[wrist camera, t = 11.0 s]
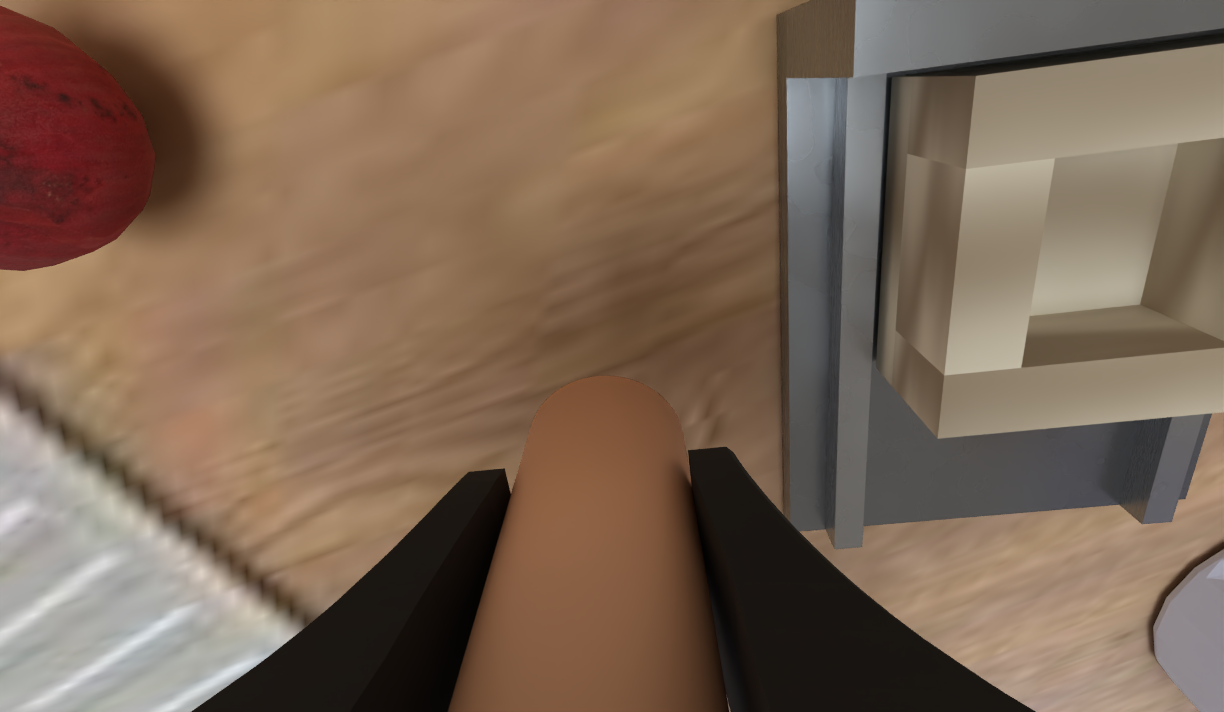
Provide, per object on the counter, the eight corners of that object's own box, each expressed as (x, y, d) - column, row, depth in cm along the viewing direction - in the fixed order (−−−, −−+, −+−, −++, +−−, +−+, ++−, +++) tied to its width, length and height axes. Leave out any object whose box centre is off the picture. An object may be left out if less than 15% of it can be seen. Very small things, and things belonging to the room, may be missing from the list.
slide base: (1161, 481, 21) (1345, 618, 16) (783, 513, 22) (834, 654, 17) (1316, -62, 15) (1716, -144, 9) (776, 14, 16) (856, -20, 10)
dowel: (694, 497, 12) (768, 939, 6) (549, 519, 13) (468, 963, 6) (670, 363, 11) (730, 727, 5) (511, 390, 11) (362, 768, 5)
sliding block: (1156, 339, 18) (1293, 405, 14) (875, 367, 18) (937, 438, 15) (1235, 31, 15) (1438, 15, 11) (891, 77, 15) (975, 75, 12)
